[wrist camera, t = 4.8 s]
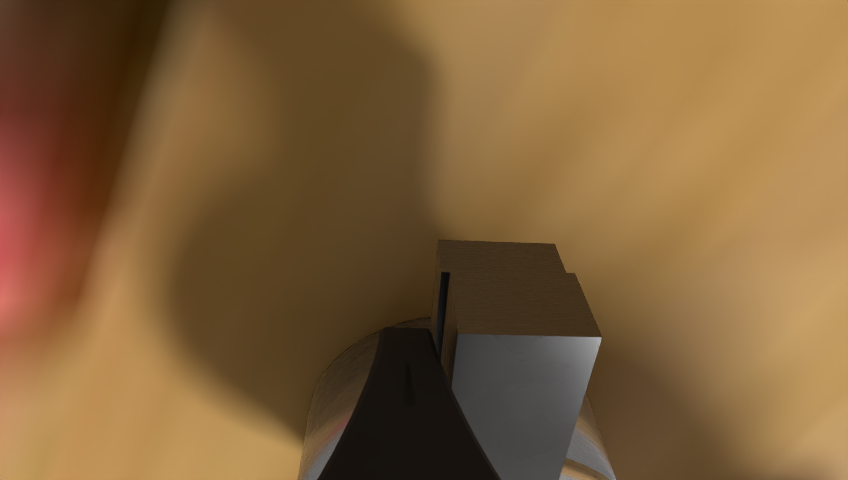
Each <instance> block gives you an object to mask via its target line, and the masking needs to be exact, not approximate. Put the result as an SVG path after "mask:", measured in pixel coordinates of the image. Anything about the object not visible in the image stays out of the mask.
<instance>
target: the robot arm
mask: <svg viewBox="0 0 848 480" xmlns="http://www.w3.org/2000/svg"><path fill="white" fill-rule="evenodd" d="M317 480H501V479H500V477H499V475H498V474H497V472H496V471H495V469H494V467H493V466H492V464H491V462H490V461H489V459H488V457H487V456H486V454H485V452H484V450H483V449H482V447H481V445H480V443H479V442H478V440H477V438H476V436H475V435H474V433H473V431H472V429H471V427H470V425H469V423H468V421H467V420H466V418H465V415H464V413H463V411H462V409H461V407H460V405H459V403H458V401H457V399H456V397H455V395H454V393H453V391H452V388H451V386H450V384H449V382H448V379H447V377H446V374H445V372H444V369H443V367H442V364H441V362H440V359H439V356H438V353H437V350H436V347H435V343H434V340H433V336H432V333H431V332H430V331H429V330H428V329H427V328H393V327H386V328H384V329H383V330H381V331H380V334H379V341H378V346H377V350H376V354H375V357H374V360H373V364H372V367H371V369H370V372H369V375H368V378H367V380H366V383H365V385H364V388H363V390H362V392H361V395H360V397H359V399H358V402H357V404H356V407H355V409H354V411H353V413H352V415H351V417H350V419H349V421H348V423H347V425H346V427H345V429H344V431H343V433H342V435H341V437H340V439H339V441H338V443H337V445H336V447H335V449H334V451H333V453H332V455H331V456H330V458H329V460H328V462H327V463H326V465H325V467H324V469H323V470H322V472H321V474H320V476H319V477H318V479H317Z"/></svg>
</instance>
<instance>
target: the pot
mask: <svg viewBox="0 0 848 480" xmlns="http://www.w3.org/2000/svg"><path fill="white" fill-rule="evenodd" d="M450 269H453V270H485V271H517V272H549V273H566V271H565V269H564V266H563V264H562V261H561V259H560V256H559V254H558V251H557V249H556V246H555V244H542V243H513V242H483V241H454V240H438V247H437V258H436V270H435V281H434V292H433V304H432V315H431V318H423V319H418V320H413V321H409V322H405V323H400V324H398V325H395V326H392V327H393V328H427V329H428V330H429V331H430V332H431V333H432V336H433V340H434V343H435V347H436V350H437V353H438V356H439V359H440V362H441V353H442V344H443V334H444V325H445V315H446V306H447V296H448V287H449V277H450ZM379 334H380V331H379V332H376V333H374V334H372V335H370V336H368V337H366V338H364V339H362V340H361V341H359V342H358V343H356V344H354V345H353V346H351V347H350V348H348V349H347V350H346V351H345V352H344V353H342V354H341V355H340V356H339V357H338V358H336V360H335V361H334V362H333V363H332V364H331V365H330V366H329V367H328V368H327V369H326V371H325V372H324V374H323V375H322V377H321V378H320V380H319V381H318V384H317V386H316V388H315V390H314V393H313V396H312V400H311V404H310V409H309V415H308V421H307V427H306V433H305V439H304V445H303V450H302V456H301V462H300V468H299V474H298V480H317V479H318V477H319V476H320V474H321V472H322V470H323V469H324V467H325V465H326V463H327V462H328V460H329V458H330V456H331V455H332V453H333V451H334V449H335V447H336V445H337V443H338V441H339V439H340V437H341V435H342V433H343V431H344V429H345V427H346V425H347V423H348V421H349V419H350V417H351V415H352V413H353V411H354V409H355V407H356V404H357V402H358V399H359V397H360V395H361V392H362V390H363V388H364V385H365V383H366V380H367V378H368V375H369V372H370V369H371V367H372V364H373V360H374V357H375V354H376V350H377V346H378V341H379ZM566 458H568V459H570V460H573V461H576V462H578V463H581V464H584V465H586V466H588V467H590V468H591V469H593V470H595V471H597V472H599V473H601V474H603V475H604V476H606V477H607V478H609V479H610V480H616V477H615V474H614V471H613V468H612V466H611V463H610V460H609V457H608V454H607V451H606V448H605V446H604V443H603V440H602V437H601V434H600V431H599V428H598V426H597V423H596V420H595V417H594V414H593V411H592V408H591V406H590V403H589V400H588V397H587V394H586V392H585V396H584V399H583V402H582V405H581V409H580V412H579V415H578V419H577V422H576V425H575V429H574V432H573V435H572V438H571V442H570V445H569V448H568V452H567V455H566Z"/></svg>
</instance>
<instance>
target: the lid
mask: <svg viewBox="0 0 848 480" xmlns="http://www.w3.org/2000/svg"><path fill="white" fill-rule="evenodd" d="M601 339H602V336H601V334H600V331H599V329H598V327H597V324H596V322H595V319H594V317H593V315H592V312H591V310H590V308H589V305H588V303H587V301H586V298H585V296H584V294H583V291H582V289H581V287H580V284H579V282H578V280H577V277H576V275H575V273H549V272H517V271H485V270H453V269H450V277H449V287H448V296H447V306H446V315H445V325H444V334H443V344H442V353H441V364H442V367H443V369H444V372H445V374H446V377H447V379H448V382H449V384H450V386H451V388H452V391H453V393H454V395H455V397H456V399H457V401H458V403H459V405H460V407H461V409H462V411H463V413H464V415H465V418H466V420H467V421H468V423H469V425H470V427H471V429H472V431H473V433H474V435H475V436H476V438H477V440H478V442H479V443H480V445H481V447H482V449H483V450H484V452H485V454H486V456H487V457H488V459H489V461H490V462H491V464H492V466H493V467H494V469H495V471H496V472H497V474H498V475H499V477H500V479H501V480H610V479H609V478H607V477H606V476H604V475H603V474H601V473H599V472H597V471H595V470H593V469H591V468H590V467H588V466H586V465H584V464H581V463H578V462H576V461H573V460H570V459H568V458H566V455H567V452H568V448H569V445H570V442H571V438H572V435H573V432H574V429H575V425H576V422H577V419H578V415H579V412H580V409H581V405H582V402H583V399H584V396H585V392H586V389H587V386H588V382H589V379H590V376H591V372H592V369H593V366H594V363H595V359H596V356H597V353H598V349H599V346H600V343H601Z"/></svg>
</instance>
